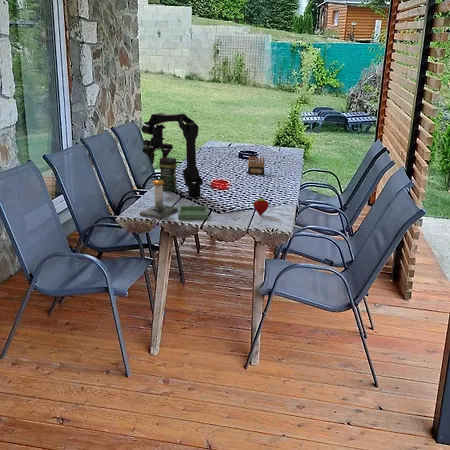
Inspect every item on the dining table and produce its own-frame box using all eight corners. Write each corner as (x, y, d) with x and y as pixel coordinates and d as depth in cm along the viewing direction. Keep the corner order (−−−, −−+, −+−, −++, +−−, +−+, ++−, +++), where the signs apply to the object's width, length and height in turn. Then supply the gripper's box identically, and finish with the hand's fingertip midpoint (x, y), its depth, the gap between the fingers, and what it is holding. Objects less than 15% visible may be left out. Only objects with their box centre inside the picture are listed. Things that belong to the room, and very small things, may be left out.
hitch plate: (158, 206, 272) (158, 204, 271) (178, 210, 267) (178, 207, 266) (139, 215, 259) (139, 212, 258) (160, 219, 253) (159, 216, 253)
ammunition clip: (247, 174, 342) (248, 156, 339) (247, 173, 344) (248, 155, 340) (264, 175, 341) (264, 156, 337) (264, 174, 343) (265, 156, 339)
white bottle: (166, 212, 263) (165, 181, 258) (158, 215, 259) (157, 182, 254) (159, 210, 266) (158, 179, 261) (151, 212, 262) (150, 181, 257)
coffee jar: (158, 190, 302) (157, 158, 296) (163, 187, 310) (162, 155, 304) (173, 191, 300) (173, 159, 294) (178, 188, 307) (178, 156, 301)
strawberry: (268, 217, 258) (269, 197, 255) (253, 217, 258) (254, 197, 255) (267, 213, 264) (268, 194, 261) (252, 213, 264) (253, 193, 260)
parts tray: (179, 210, 266) (179, 205, 265) (207, 210, 267) (207, 206, 266) (178, 219, 253) (178, 214, 252) (207, 219, 254) (207, 214, 253)
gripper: (159, 132, 310) (160, 158, 315) (135, 136, 296) (136, 163, 301) (173, 134, 303) (173, 161, 308) (149, 138, 289) (149, 166, 295)
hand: (158, 163), depth 303 cm, fingers open, 9 cm apart
